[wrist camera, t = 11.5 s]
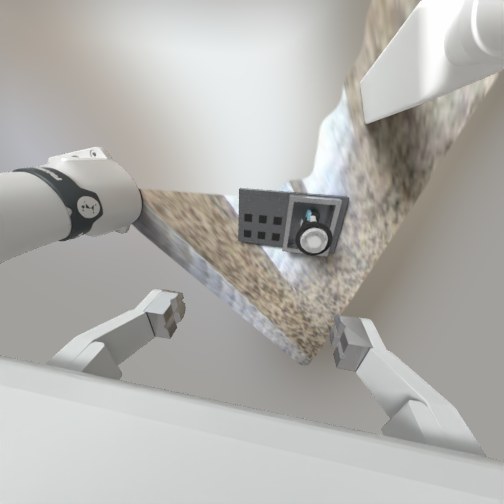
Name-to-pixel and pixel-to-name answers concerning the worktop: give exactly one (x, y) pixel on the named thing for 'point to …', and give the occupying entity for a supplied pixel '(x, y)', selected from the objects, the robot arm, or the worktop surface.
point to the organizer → (286, 216)
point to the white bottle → (435, 55)
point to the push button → (313, 235)
